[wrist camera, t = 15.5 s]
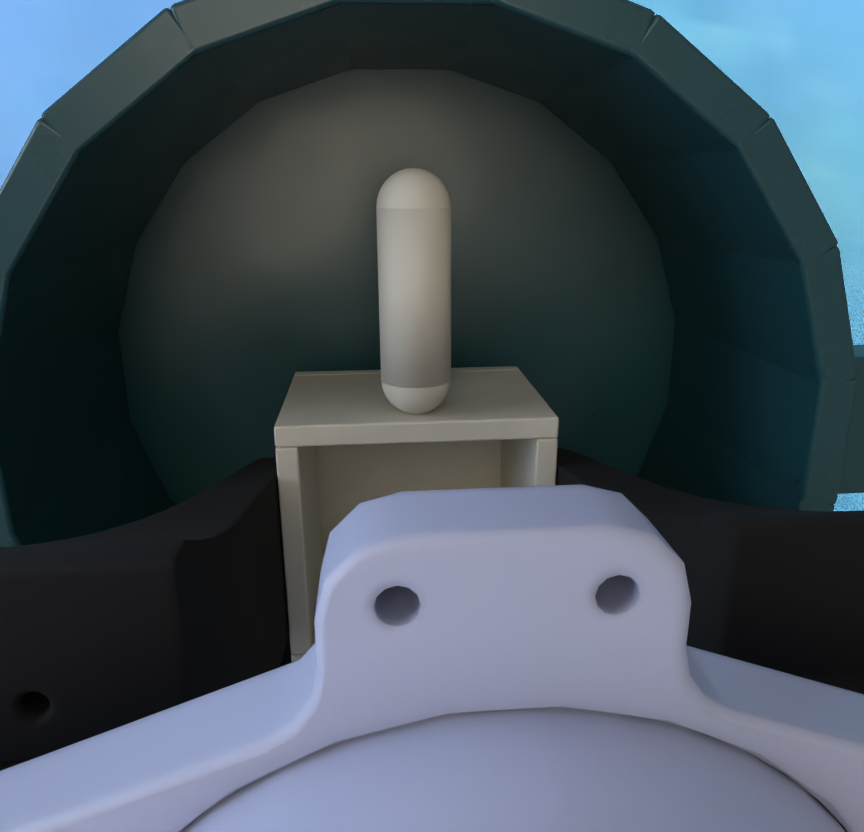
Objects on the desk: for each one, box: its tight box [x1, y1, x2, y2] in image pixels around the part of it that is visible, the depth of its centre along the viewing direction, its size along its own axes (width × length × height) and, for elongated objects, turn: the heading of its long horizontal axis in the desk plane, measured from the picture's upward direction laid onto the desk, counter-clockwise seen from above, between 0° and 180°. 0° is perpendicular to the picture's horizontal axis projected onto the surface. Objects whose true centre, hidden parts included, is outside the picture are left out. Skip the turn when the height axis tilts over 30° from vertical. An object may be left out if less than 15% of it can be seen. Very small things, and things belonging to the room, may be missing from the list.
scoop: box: [274, 168, 559, 662], centre depth 13 cm, size 8×4×4 cm, turn 0°
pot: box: [0, 0, 864, 667], centre depth 14 cm, size 13×19×6 cm
